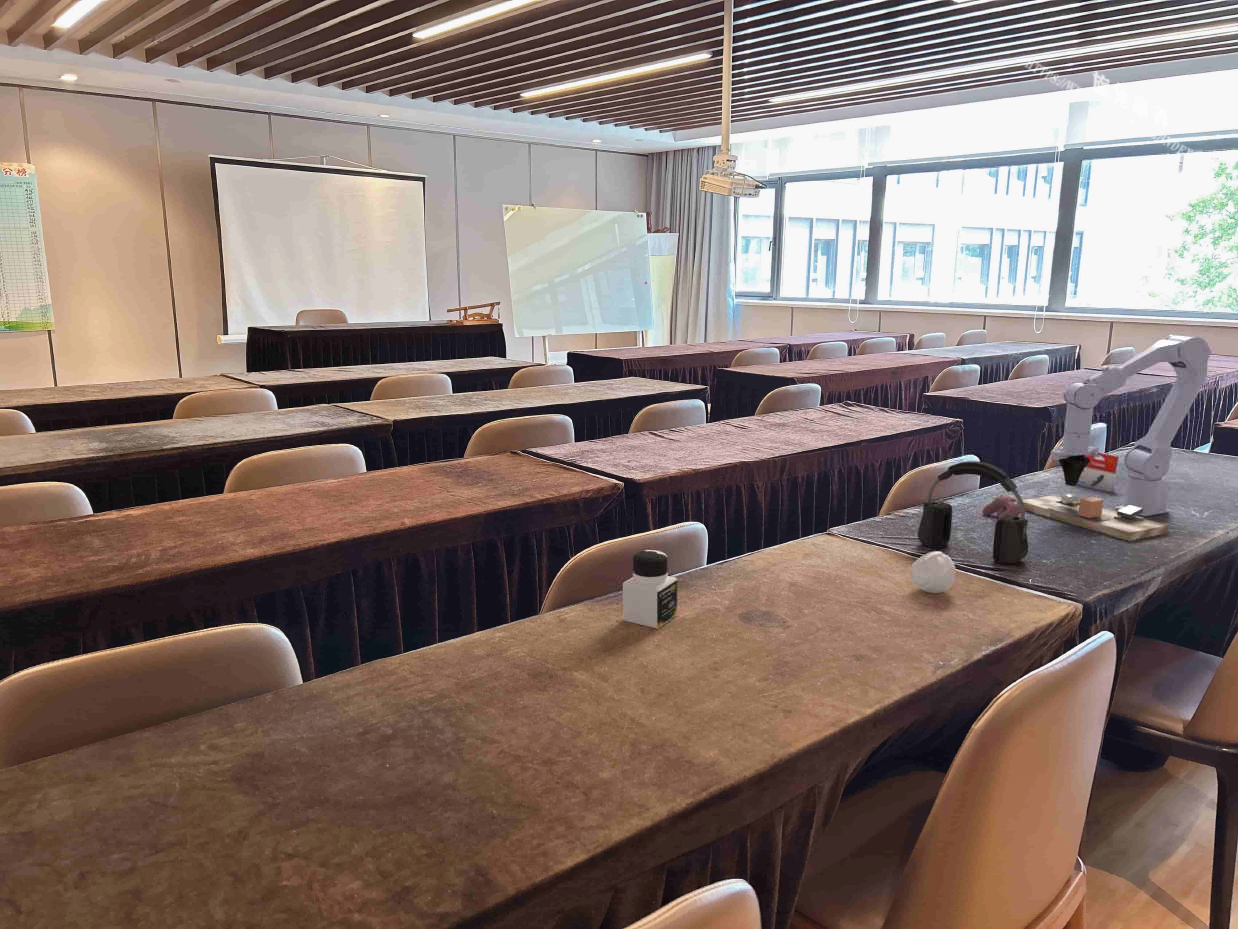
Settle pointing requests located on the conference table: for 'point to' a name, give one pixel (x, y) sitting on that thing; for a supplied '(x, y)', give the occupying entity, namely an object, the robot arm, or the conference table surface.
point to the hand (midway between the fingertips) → (1070, 485)
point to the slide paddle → (1090, 507)
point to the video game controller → (1003, 506)
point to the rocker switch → (1129, 511)
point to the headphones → (1007, 529)
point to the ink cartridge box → (1100, 473)
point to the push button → (1069, 499)
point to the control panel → (1096, 519)
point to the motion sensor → (933, 572)
